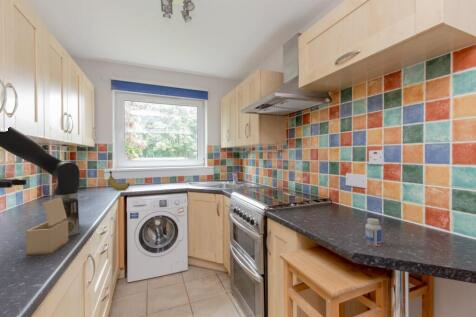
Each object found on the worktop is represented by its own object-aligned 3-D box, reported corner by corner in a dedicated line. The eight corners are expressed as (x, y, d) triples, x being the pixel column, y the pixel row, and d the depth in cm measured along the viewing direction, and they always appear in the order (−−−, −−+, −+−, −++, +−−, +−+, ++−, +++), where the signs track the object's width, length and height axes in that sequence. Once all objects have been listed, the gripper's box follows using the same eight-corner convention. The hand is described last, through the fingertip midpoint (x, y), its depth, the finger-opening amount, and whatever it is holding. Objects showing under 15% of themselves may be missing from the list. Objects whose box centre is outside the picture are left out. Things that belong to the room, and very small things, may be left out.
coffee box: (75, 230, 106) (74, 197, 105) (79, 233, 102) (78, 199, 101) (51, 236, 99) (50, 200, 98) (54, 239, 95) (53, 202, 94)
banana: (131, 189, 227) (130, 170, 227) (127, 190, 222) (127, 171, 221) (111, 189, 230) (110, 170, 230) (107, 190, 224) (106, 171, 224)
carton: (46, 243, 91) (46, 221, 91) (68, 241, 92) (67, 220, 92) (26, 255, 80) (25, 231, 80) (51, 253, 81) (50, 229, 81)
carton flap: (64, 218, 91) (59, 197, 91) (66, 217, 92) (61, 197, 91) (48, 226, 82) (42, 203, 81) (51, 225, 82) (44, 202, 81)
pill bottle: (378, 241, 89) (378, 217, 89) (383, 247, 84) (384, 222, 83) (363, 240, 90) (363, 217, 90) (368, 245, 85) (368, 221, 85)
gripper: (-57, 176, 74) (2, 175, 77) (-16, 173, 88) (32, 172, 91) (-56, 198, 74) (2, 196, 77) (-15, 191, 88) (33, 189, 91)
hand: (18, 183), depth 84 cm, fingers open, 6 cm apart
